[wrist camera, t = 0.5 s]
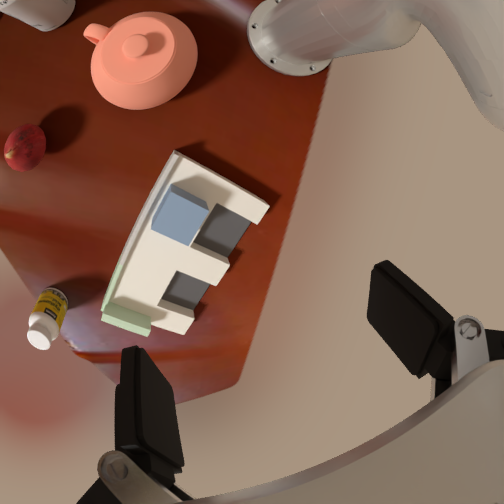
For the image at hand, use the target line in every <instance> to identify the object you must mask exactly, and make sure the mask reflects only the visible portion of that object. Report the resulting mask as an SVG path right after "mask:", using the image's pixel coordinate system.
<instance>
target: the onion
mask: <svg viewBox="0 0 504 504" xmlns="http://www.w3.org/2000/svg"><path fill="white" fill-rule="evenodd" d="M45 150H46V138H45V135H44V132H43V130H42V129H41V128H40V127H39V126H37V125H32V124H25V125H23V126H20V127H18V128H17V129H15V130H14V131H13V132H12V133H11V134H10V136H9V137H8V139H7V142H6V144H5V149H4V154H5V159H6V161H7V163H8V165H9V166H10V167H11V168H12V169H14V170H17V171H21V172H23V171H28V170H31V169H33V168H34V167H35V166H36V165H38V163H39V162H40V161H41V159H42V158H43V156H44V153H45Z"/></svg>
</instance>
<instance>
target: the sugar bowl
mask: <svg viewBox="0 0 504 504" xmlns="http://www.w3.org/2000/svg"><path fill="white" fill-rule="evenodd" d="M84 37H86V38H87V39H89V40H90V41H91V42H92V43H94V44H96V47H95V50H94V52H93V55H92V60H91V75H92V79H93V82H94V84H95V87H96V88H97V90H98V91H99V93H100V94H101V95H102V96H103V97H104V98H105V99H106V100H107V101H109V102H111V103H112V104H114V105H116V106H119V107H122V108H126V109H132V110H142V109H148V108H153V107H156V106H159V105H161V104H163V103H165V102H167V101H169V100H170V99H172V98H173V97H175V96H176V95H177V94H178V93H179V92H180V91H181V90H182V89H183V88H184V87H185V86H186V85H187V83H188V82H189V80H190V79H191V77H192V75H193V73H194V70H195V67H196V63H197V56H198V51H197V44H196V41H195V38H194V36H193V34H192V33H191V31H190V30H189V28H188V27H187V26H186V25H185V24H184V23H182V22H181V21H180V20H179V19H177V18H175V17H173V16H171V15H168V14H165V13H160V12H141V13H136V14H133V15H130V16H128V17H125V18H123V19H122V20H120V21H118V22H117V23H115V24H114V25H113V26H111V27H110V28H108V27H105V26H102V25H99V24H94V23H93V24H90V25H89V26H88V27H87V28H86V29H85V31H84Z"/></svg>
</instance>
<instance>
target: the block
mask: <svg viewBox="0 0 504 504" xmlns="http://www.w3.org/2000/svg"><path fill="white" fill-rule="evenodd" d="M208 213H209V209H208V206H207V203H206V201H204V200H202V199H200V198H198V197H196V196H194V195H192V194H190V193H188V192H186V191H185V190H183V189H181V188H179V187H177V186H175V185H173V184H170V186H169V188H168V190H167V192H166V193H165V195H164V197H163V199H162V201H161V203H160V204H159V206H158V208H157V210H156V212H155V214H154V216H153V218H152V224H151V230H153V231H156V232H158V233H160V234H162V235H164V236H166V237H169V238H171V239H173V240H175V241H177V242H180V243H182V244H184V245H186V246H189V244H190V243H191V241H192V239H193V238H194V236H195V234H196V233H197V231H198V229H199V228H200V226H201V224H202V223H203V221H204V219H205V218H206V216H207V214H208Z"/></svg>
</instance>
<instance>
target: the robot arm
mask: <svg viewBox="0 0 504 504" xmlns="http://www.w3.org/2000/svg"><path fill="white" fill-rule="evenodd" d="M276 2H277V3H276ZM421 23H422V24H423V25H424V26H426V27H427V29H428V30H429V31H430V32H431V33H432V35H433V36H434V37H435V39H436V40H437V42H438V43H439V44H440V46H441V47H442V48H443V49H444V51H445V52H446V54H447V55H448V57H449V59H450V60H451V62H452V64H453V65H454V67H455V69H456V70H457V72H458V74H459V75H460V77H461V79H462V81H463V83H464V85H465V87H466V88H467V90H468V92H469V94H470V96H471V97H472V99H473V101H474V103H475V105H476V106H477V108H478V109H479V111H480V112H481V113H482V115H483V116H484V117H485V118H486V119H487V120H488V121H489V122H490V123H491V124H492V125H494V126H495V127H497V128H498V129H500V130H502V131H504V0H266V1H264V2H262V3H261V4H260V5H259V6H257V7H256V9H255V10H254V11H253V12H252V14H251V16H250V17H249V20H248V24H247V36H248V41H249V43H250V46H251V48H252V50H253V51H254V53H255V54H256V56H257V57H258V58H259V59H260V60H261V61H262V62H263V63H264V64H266V65H267V66H268V67H269V68H271V69H273V70H275V71H277V72H280V73H282V74H285V75H291V76H305V75H311V74H315V73H317V72H319V71H321V70H323V69H324V68H325V67H326V66H327V65H328V64H329V63H330V62H331V61H332V59H333V58H338V57H342V56H348V55H354V54H360V53H367V52H374V51H380V50H389V49H394V48H397V47H401V46H402V45H405V44H406V43H407V42H409V41H410V40H411V39H412V38H413V37H414V36H415V34H416V33H417V31H418V29H419V27H420V25H421ZM252 26H254V27H255V29H254V28H252ZM270 60H272V61H273V63H271V62H270ZM310 68H311V70H310ZM367 319H368V321H369V323H370V324H371V325H372V326H373V328H374V329H375V330H376V331H377V332H378V334H379V335H380V336H381V337H382V338H383V340H384V341H385V342H386V343H387V344H388V346H389V347H390V348H391V349H392V351H393V352H394V353H395V354H396V355H397V357H398V358H399V359H400V360H401V362H402V363H403V364H404V365H405V367H406V368H407V369H408V370H409V372H410V373H411V374H412V375H416V376H417V377H418V378H419V379H420V378H421V377H423V376H424V375H426V374H427V373H429V374H430V375H431V376H432V381H431V398H430V402H429V403H428V404H427V405H425V406H424V407H422V408H421V409H420V410H418V411H417V412H415V413H414V414H412V415H411V416H409V417H408V418H406V419H405V420H403V421H402V422H400V423H398V424H397V425H395V426H394V427H392V428H390V429H389V430H387V431H385V432H383V433H382V434H380V435H378V436H376V437H375V438H373V439H371V440H369V441H367V442H365V443H364V444H362V445H360V446H358V447H356V448H354V449H352V450H350V451H348V452H346V453H344V454H341V455H339V456H337V457H335V458H333V459H331V460H328V461H326V462H324V463H321V464H319V465H317V466H314V467H311V468H309V469H306V470H304V471H301V472H298V473H296V474H293V475H290V476H287V477H284V478H281V479H278V480H275V481H272V482H268V483H265V484H261V485H258V486H255V487H250V488H246V489H242V490H238V491H235V492H230V493H225V494H221V495H216V496H211V497H205V498H200V499H196V498H195V497H193V496H192V495H191V494H189V493H188V492H186V491H185V490H184V489H182V488H181V487H180V486H179V485H177V484H176V483H175V477H174V474H177V473H182V468H181V467H183V466H184V457H183V452H182V447H181V441H180V435H179V429H178V423H177V416H176V409H175V401H174V393H173V389H172V387H171V385H170V384H169V382H168V381H167V380H166V378H165V377H164V376H163V374H162V373H161V372H160V370H159V369H158V368H157V366H156V365H155V364H154V362H153V361H152V360H151V358H150V357H149V355H148V354H147V353H146V351H145V350H144V348H139V347H138V346H137V345H136V346H132V347H128V348H124V349H123V350H122V356H121V371H120V384H118V385H117V386H116V391H115V451H113V450H112V451H109V452H106V453H105V454H104V455H102V457H101V458H100V460H99V462H98V467H97V471H98V474H99V478H98V480H97V481H96V482H95V483H94V484H93V485H92V486H91V487H90V488H89V490H88V491H87V492H86V493H85V494H84V495H83V497H81V499H80V500H79V501H78V502H77V504H504V331H498V330H489V329H484V327H483V325H482V323H481V322H480V321H479V320H478V319H477V318H475V317H473V316H469V315H465V316H461V317H459V318H458V319H457V320H456V322H455V321H454V320H453V317H452V316H451V315H450V314H449V313H448V312H447V311H446V310H445V309H444V308H443V307H442V306H441V305H440V304H438V303H437V302H436V301H435V300H434V299H433V298H432V297H431V296H429V294H427V293H426V292H425V291H424V290H423V289H422V288H421V287H419V286H418V285H417V284H416V283H415V282H414V281H412V280H411V279H410V278H409V277H408V276H407V275H406V274H404V273H403V272H402V271H401V270H400V269H398V268H397V267H396V266H395V265H394V264H392V263H391V262H390V261H388V260H385V261H382V262H380V263H378V264H375V265H374V269H373V270H372V271H371V281H370V291H369V301H368V309H367Z"/></svg>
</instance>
